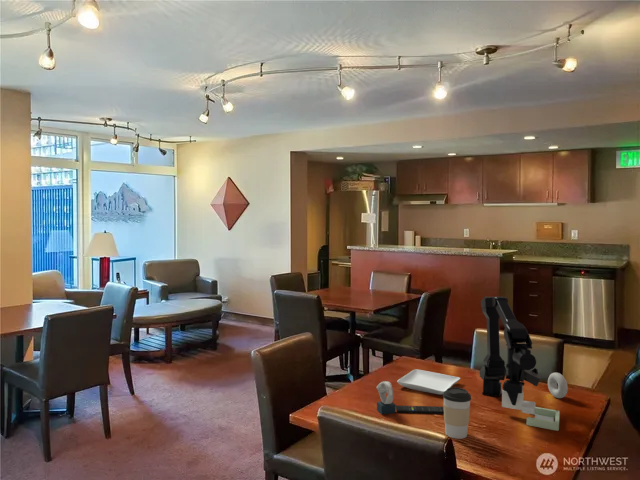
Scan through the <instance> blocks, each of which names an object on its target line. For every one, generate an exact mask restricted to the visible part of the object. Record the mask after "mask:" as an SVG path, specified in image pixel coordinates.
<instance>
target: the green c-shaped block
mask: <svg viewBox="0 0 640 480" xmlns="http://www.w3.org/2000/svg"><path fill="white" fill-rule="evenodd" d="M535 414H536V415H542V416H547V417H553V418H554V420H553V421H548V420H543V419H537V418H535V417H530V416H526V426H530V427H536V428H542V429H546V430H551V431H557V432H558V431H559V429H560V410H558V409H557V410H556V409H552V408H546V407H545V408H543V407H540V406H536V408H535ZM535 414H533V415H534V416H535Z"/></svg>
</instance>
